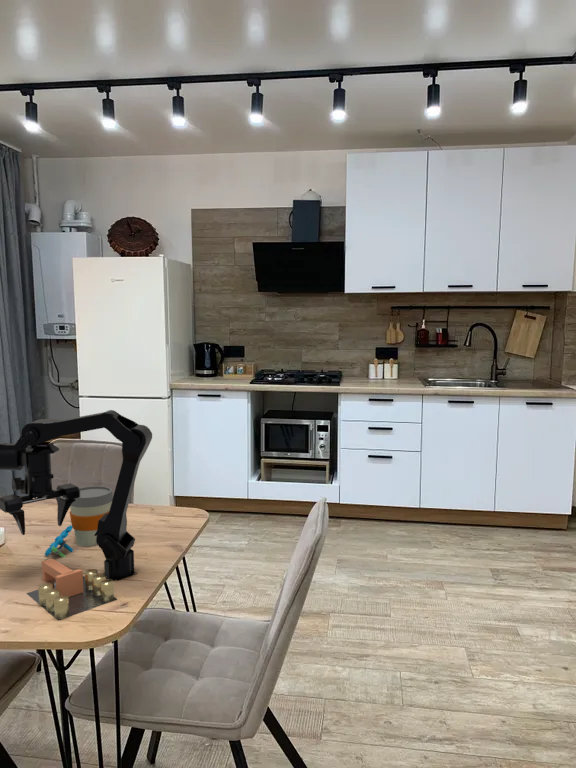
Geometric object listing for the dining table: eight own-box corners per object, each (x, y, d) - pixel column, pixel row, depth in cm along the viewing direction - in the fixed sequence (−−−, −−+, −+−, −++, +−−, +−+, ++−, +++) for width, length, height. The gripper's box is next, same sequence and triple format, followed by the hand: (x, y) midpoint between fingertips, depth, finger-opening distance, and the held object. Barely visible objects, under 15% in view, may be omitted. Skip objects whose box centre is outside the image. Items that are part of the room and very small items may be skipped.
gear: (50, 540, 170) (73, 518, 169) (65, 553, 172) (88, 530, 170) (36, 561, 160) (61, 536, 158) (53, 574, 161) (78, 550, 160)
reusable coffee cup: (78, 552, 166) (76, 500, 164) (63, 539, 175) (61, 491, 174) (121, 542, 174) (119, 492, 172) (104, 530, 183) (102, 483, 182)
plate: (82, 577, 149) (82, 560, 149) (117, 601, 136) (117, 582, 136) (26, 595, 140) (25, 577, 139) (58, 623, 127) (57, 602, 126)
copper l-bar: (59, 577, 150) (58, 556, 149) (83, 592, 140) (82, 570, 140) (36, 584, 146) (35, 563, 145) (59, 600, 136) (58, 577, 135)
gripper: (61, 458, 160) (64, 514, 162) (-12, 470, 147) (-8, 531, 149) (80, 466, 152) (82, 524, 154) (4, 479, 139) (7, 542, 141)
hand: (41, 530), depth 150 cm, fingers open, 9 cm apart
